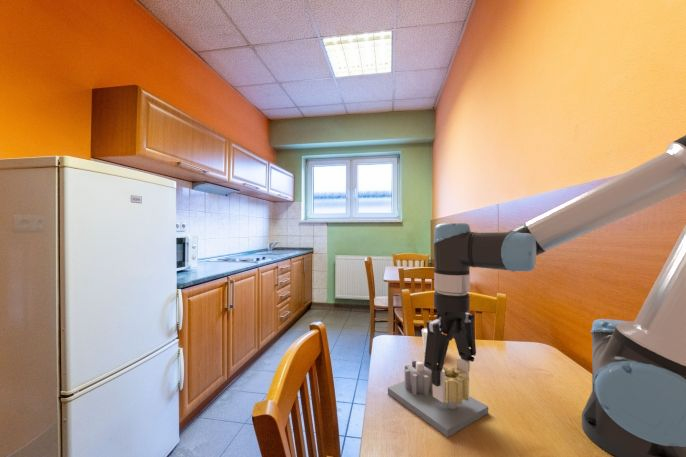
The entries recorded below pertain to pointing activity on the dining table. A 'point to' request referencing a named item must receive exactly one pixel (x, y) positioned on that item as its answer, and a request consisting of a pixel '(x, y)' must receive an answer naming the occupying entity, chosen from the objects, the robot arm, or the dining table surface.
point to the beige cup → (424, 338)
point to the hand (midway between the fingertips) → (451, 392)
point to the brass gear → (455, 385)
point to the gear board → (434, 401)
